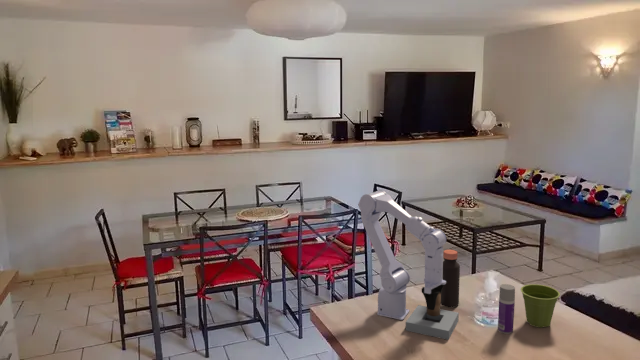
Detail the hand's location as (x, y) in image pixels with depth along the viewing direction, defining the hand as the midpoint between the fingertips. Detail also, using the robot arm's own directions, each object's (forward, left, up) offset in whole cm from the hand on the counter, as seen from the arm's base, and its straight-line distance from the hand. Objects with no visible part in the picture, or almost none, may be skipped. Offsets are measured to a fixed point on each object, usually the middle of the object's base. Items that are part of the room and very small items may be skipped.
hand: (433, 306), depth 159 cm
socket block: (0, 0, -7) cm, 7 cm away
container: (+22, +7, -7) cm, 24 cm away
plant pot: (+31, +17, -7) cm, 36 cm away
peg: (0, 0, -2) cm, 3 cm away
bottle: (+1, +19, -7) cm, 20 cm away
